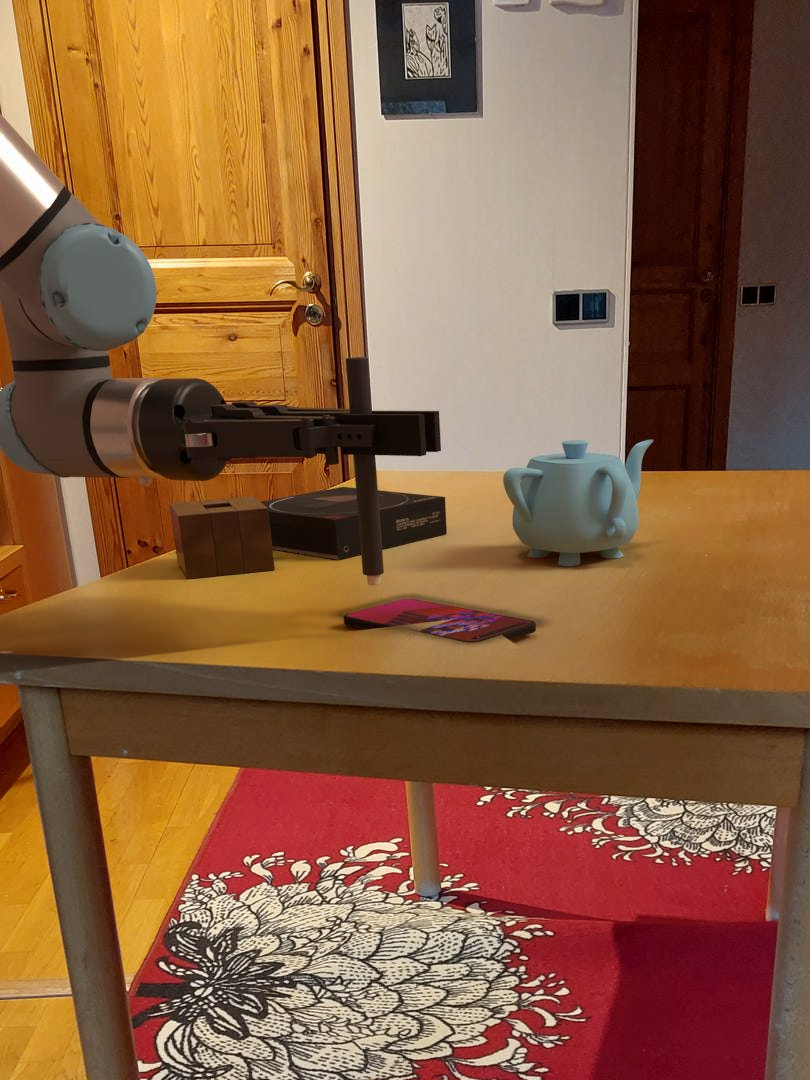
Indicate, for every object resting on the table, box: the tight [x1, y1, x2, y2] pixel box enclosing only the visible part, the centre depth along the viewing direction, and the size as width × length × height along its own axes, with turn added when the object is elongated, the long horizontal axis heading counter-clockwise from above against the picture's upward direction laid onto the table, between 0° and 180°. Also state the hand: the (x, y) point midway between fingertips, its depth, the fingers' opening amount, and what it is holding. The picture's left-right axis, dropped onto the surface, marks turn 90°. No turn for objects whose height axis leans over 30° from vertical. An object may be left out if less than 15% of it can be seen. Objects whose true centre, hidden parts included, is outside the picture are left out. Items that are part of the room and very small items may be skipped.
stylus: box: [345, 356, 385, 587], centre depth 86 cm, size 2×2×16 cm
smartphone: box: [343, 598, 537, 644], centre depth 92 cm, size 8×1×15 cm
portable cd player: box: [260, 486, 448, 561], centre depth 129 cm, size 16×17×4 cm
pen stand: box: [168, 495, 276, 580], centre depth 117 cm, size 9×9×6 cm
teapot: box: [502, 439, 654, 567], centre depth 116 cm, size 13×14×11 cm
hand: (429, 433), depth 82 cm, fingers closed on stylus, 1 cm apart
